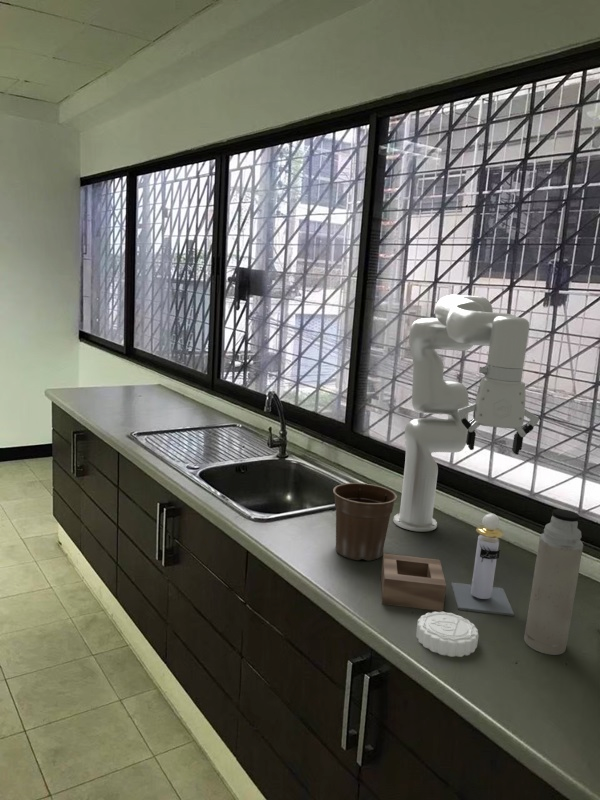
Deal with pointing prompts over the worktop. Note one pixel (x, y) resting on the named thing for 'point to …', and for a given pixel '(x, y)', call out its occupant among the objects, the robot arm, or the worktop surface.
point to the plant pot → (362, 519)
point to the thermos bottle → (554, 584)
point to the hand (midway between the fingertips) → (492, 450)
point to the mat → (481, 600)
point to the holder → (412, 582)
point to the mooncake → (447, 634)
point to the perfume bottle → (486, 557)
